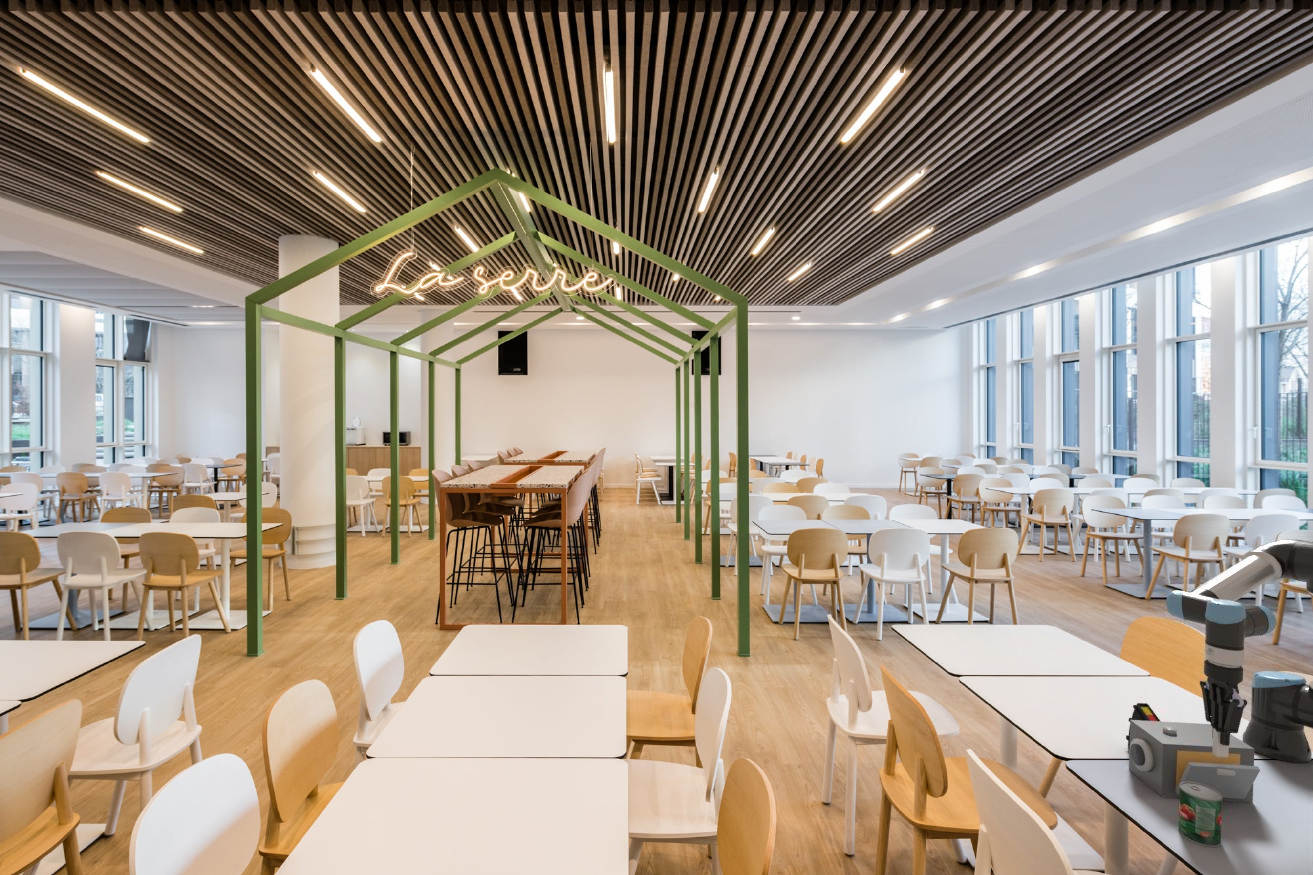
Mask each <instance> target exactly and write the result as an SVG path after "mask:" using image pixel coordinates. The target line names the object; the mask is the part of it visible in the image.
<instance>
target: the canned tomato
mask: <svg viewBox="0 0 1313 875" xmlns="http://www.w3.org/2000/svg"><path fill="white" fill-rule="evenodd" d="M1179 786H1180V791H1179V798H1178V799H1179V801H1178V829H1177V830H1178V832H1179V834H1180V835H1181V836H1182V837H1183V838H1185V839H1186V840H1188V841H1189V842H1192V841H1193V842H1192V843H1194V844H1196V843H1197V845H1199V846H1203V845H1204V846H1203V847H1208V848H1218V847H1220V846H1221V845H1222V823H1223V822H1222V820H1223V819H1222V818H1223V816H1222V815H1223V813H1222V812H1223V801H1222V798H1223V797H1222V795H1221V794H1220V793H1219V792H1218V791H1217V790H1215V789H1213V788H1211V787H1209V786H1206V785H1203V784H1200V783H1195V782H1182V783H1180V785H1179Z"/></svg>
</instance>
